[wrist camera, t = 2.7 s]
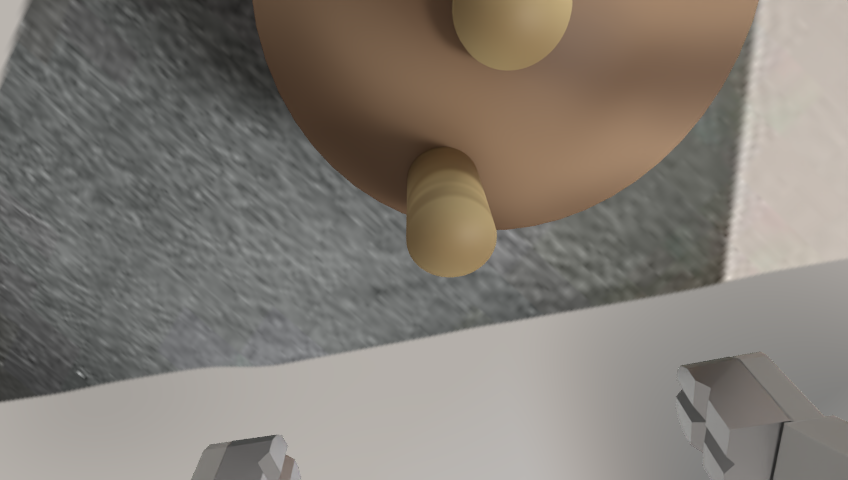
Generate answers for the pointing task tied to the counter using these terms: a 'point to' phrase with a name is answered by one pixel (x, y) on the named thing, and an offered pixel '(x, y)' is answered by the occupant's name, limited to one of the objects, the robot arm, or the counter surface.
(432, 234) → the handwheel
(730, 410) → the robot arm
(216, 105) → the counter surface
